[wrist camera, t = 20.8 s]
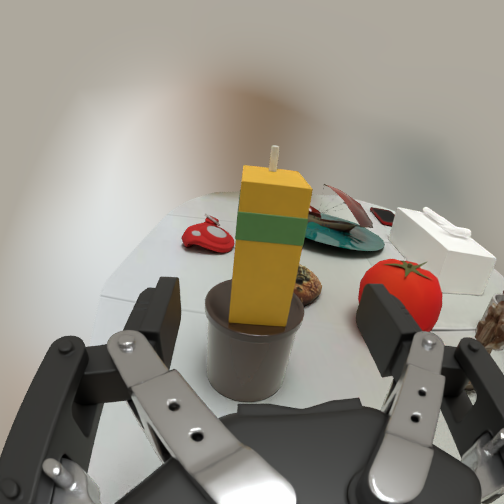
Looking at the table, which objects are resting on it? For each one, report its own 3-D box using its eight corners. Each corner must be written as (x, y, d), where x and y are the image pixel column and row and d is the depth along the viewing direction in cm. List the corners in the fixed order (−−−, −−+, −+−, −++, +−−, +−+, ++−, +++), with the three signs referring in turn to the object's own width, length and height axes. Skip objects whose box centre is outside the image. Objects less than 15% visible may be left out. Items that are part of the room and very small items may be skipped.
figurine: (444, 354, 33) (491, 256, 27) (477, 362, 31) (526, 269, 25) (448, 392, 27) (511, 284, 21) (484, 399, 25) (548, 298, 19)
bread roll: (257, 312, 39) (261, 277, 38) (239, 279, 49) (242, 249, 48) (331, 309, 42) (338, 277, 41) (301, 279, 52) (306, 251, 51)
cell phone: (382, 224, 82) (383, 221, 81) (369, 209, 95) (369, 206, 94) (405, 228, 81) (406, 225, 81) (389, 213, 95) (390, 210, 94)
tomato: (428, 324, 40) (454, 265, 35) (417, 369, 31) (454, 300, 27) (362, 296, 46) (380, 237, 41) (336, 333, 37) (358, 262, 33)
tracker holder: (246, 245, 56) (197, 241, 49) (236, 264, 58) (189, 262, 51) (219, 210, 63) (176, 204, 57) (211, 228, 65) (169, 223, 59)
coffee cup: (277, 413, 25) (297, 346, 21) (190, 389, 27) (188, 319, 23) (293, 345, 34) (310, 280, 30) (223, 329, 36) (228, 263, 32)
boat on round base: (395, 269, 56) (412, 216, 52) (259, 237, 59) (270, 180, 55) (370, 230, 82) (380, 193, 78) (274, 207, 85) (282, 169, 81)
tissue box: (432, 292, 49) (452, 238, 44) (388, 239, 72) (399, 198, 67) (481, 295, 49) (500, 248, 44) (432, 246, 72) (443, 208, 67)
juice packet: (227, 323, 23) (244, 149, 18) (231, 282, 29) (245, 140, 23) (286, 327, 23) (318, 158, 18) (279, 286, 29) (302, 147, 23)
